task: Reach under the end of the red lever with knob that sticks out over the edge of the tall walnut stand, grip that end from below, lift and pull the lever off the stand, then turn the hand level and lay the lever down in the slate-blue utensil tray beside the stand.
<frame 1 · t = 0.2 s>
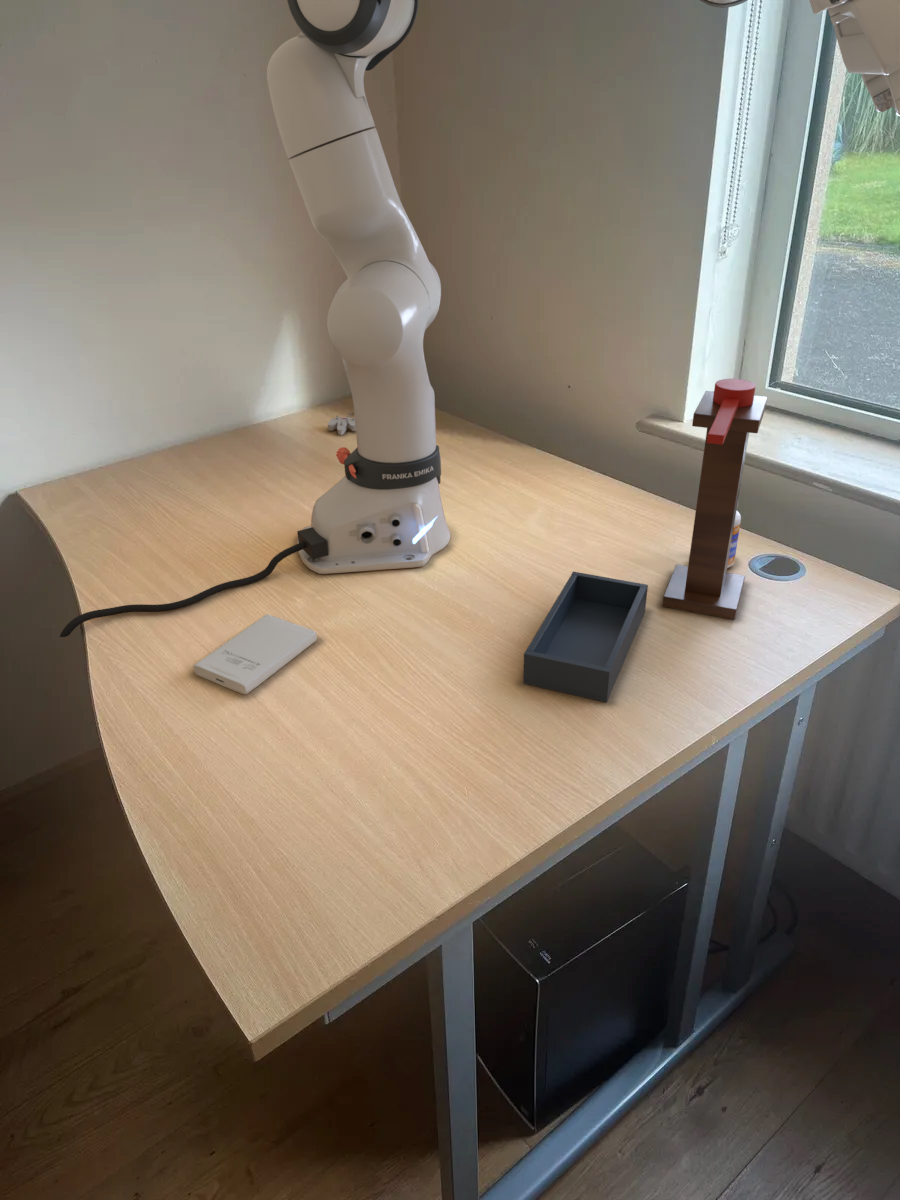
hand: (897, 111, 89), 54 cm above the table, tool tilted 30°, fingers open, 8 cm apart
game controller: (348, 425, 170), on the table
bin: (587, 645, 103), on the table
pill bottle: (713, 562, 120), on the table
stand: (703, 595, 112), on the table
red lever with knob: (732, 401, 99), point 26 cm above the table, touching stand
hard drive: (257, 659, 103), on the table
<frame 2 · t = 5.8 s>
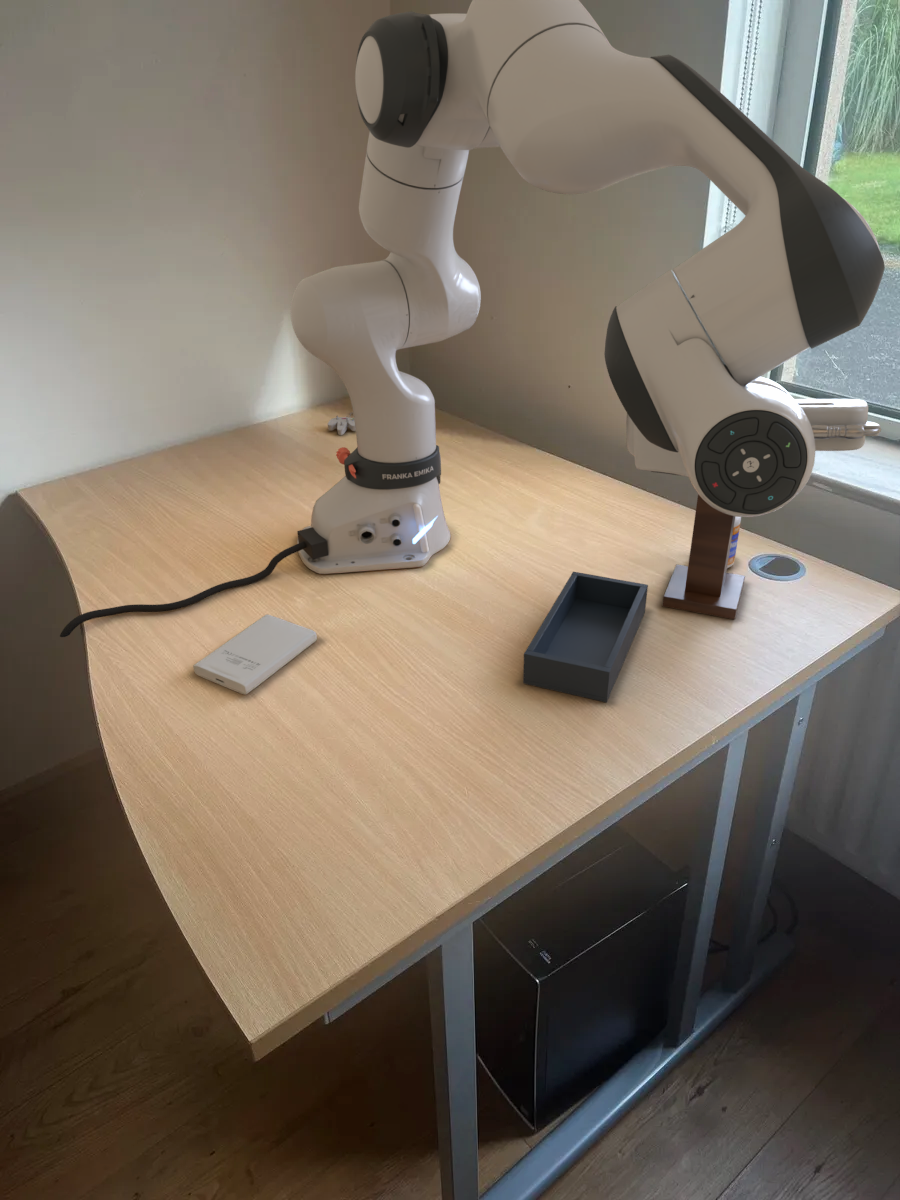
hand: (740, 413, 82), 30 cm above the table, tool horizontal, fingers open, 8 cm apart
nothing on the table moved.
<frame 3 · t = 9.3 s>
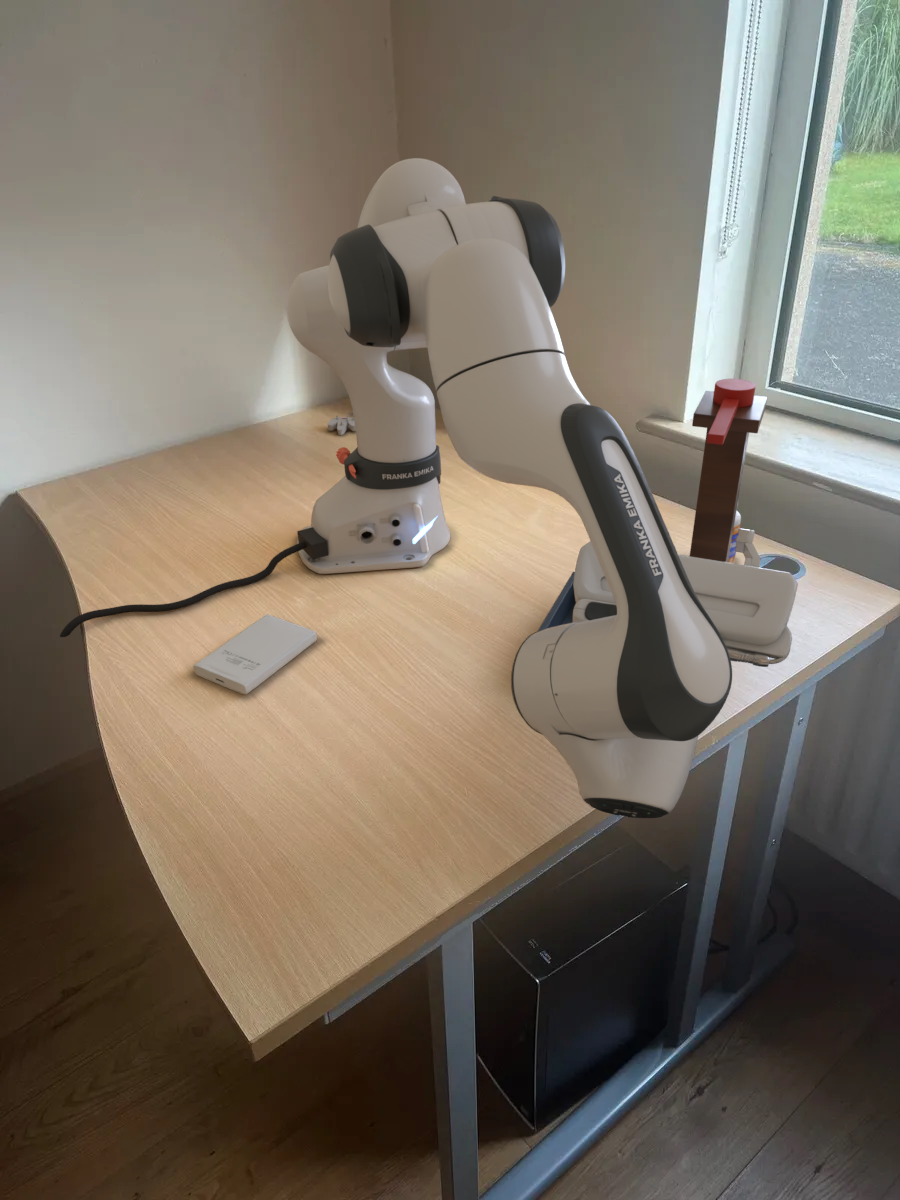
hand: (696, 525, 85), 20 cm above the table, tool pointing upward, fingers open, 8 cm apart
nothing on the table moved.
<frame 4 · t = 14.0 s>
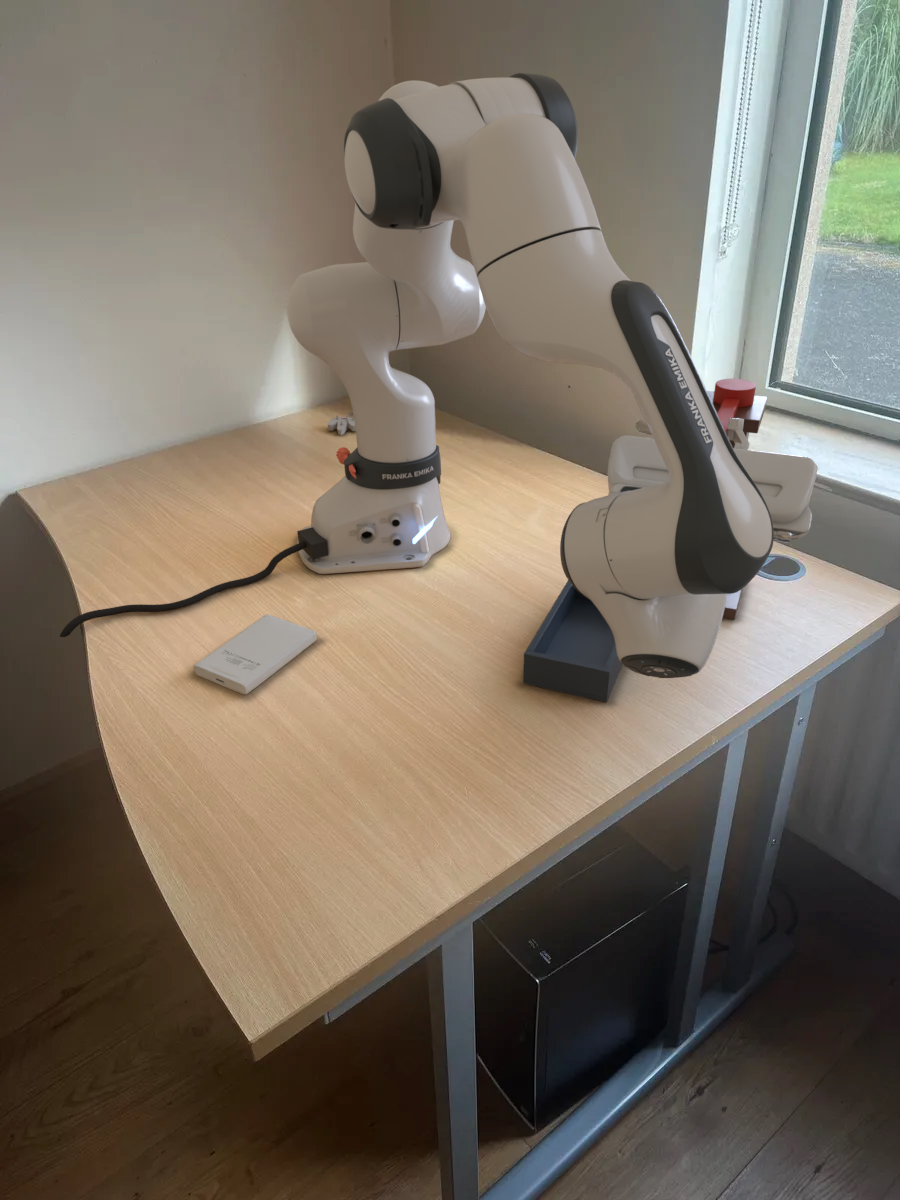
hand: (721, 420, 90), 27 cm above the table, tool pointing upward, fingers closed on red lever with knob, 2 cm apart
red lever with knob: (733, 401, 99), point 26 cm above the table, touching gripper, stand
everything else where it was.
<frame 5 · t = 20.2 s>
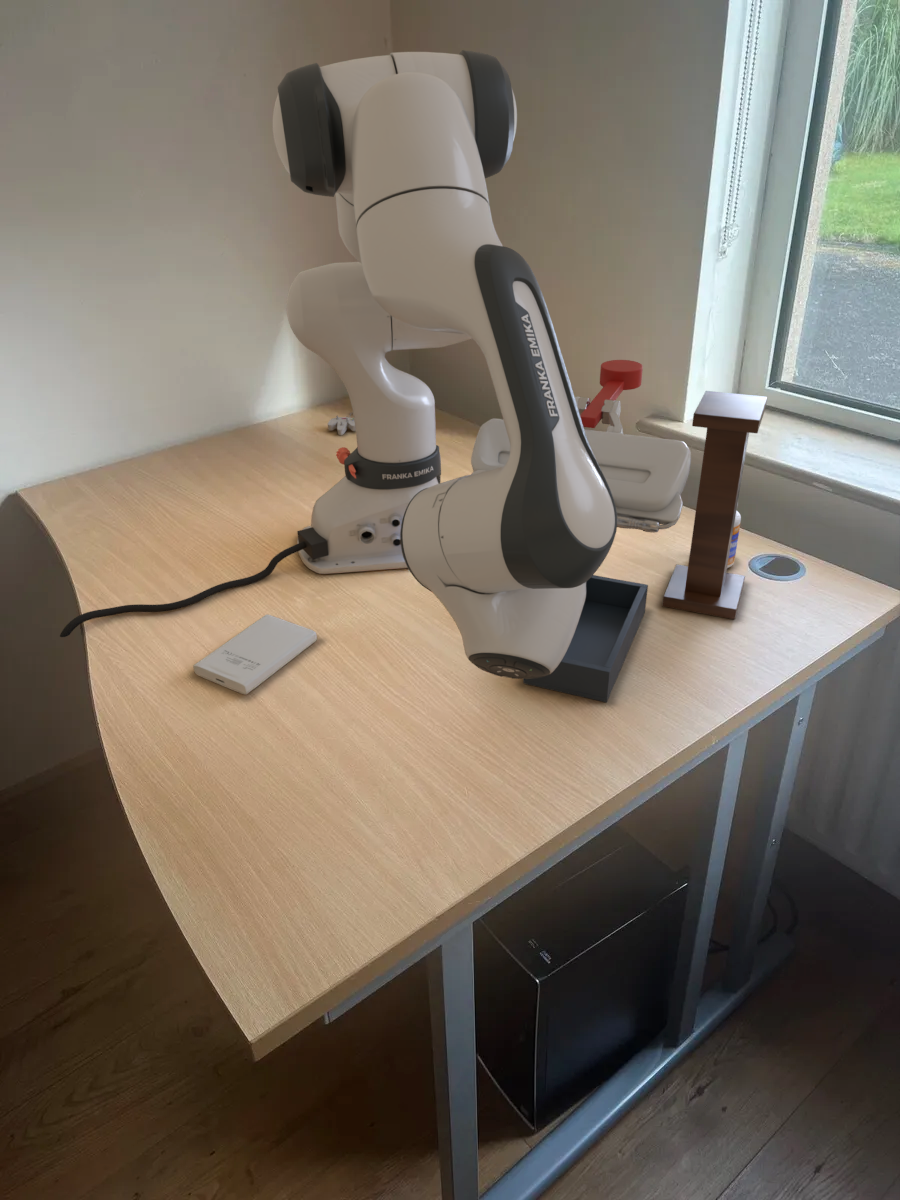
hand: (598, 402, 84), 31 cm above the table, tool pointing upward, fingers closed on red lever with knob
red lever with knob: (620, 383, 92), point 30 cm above the table, touching gripper
everything else where it was.
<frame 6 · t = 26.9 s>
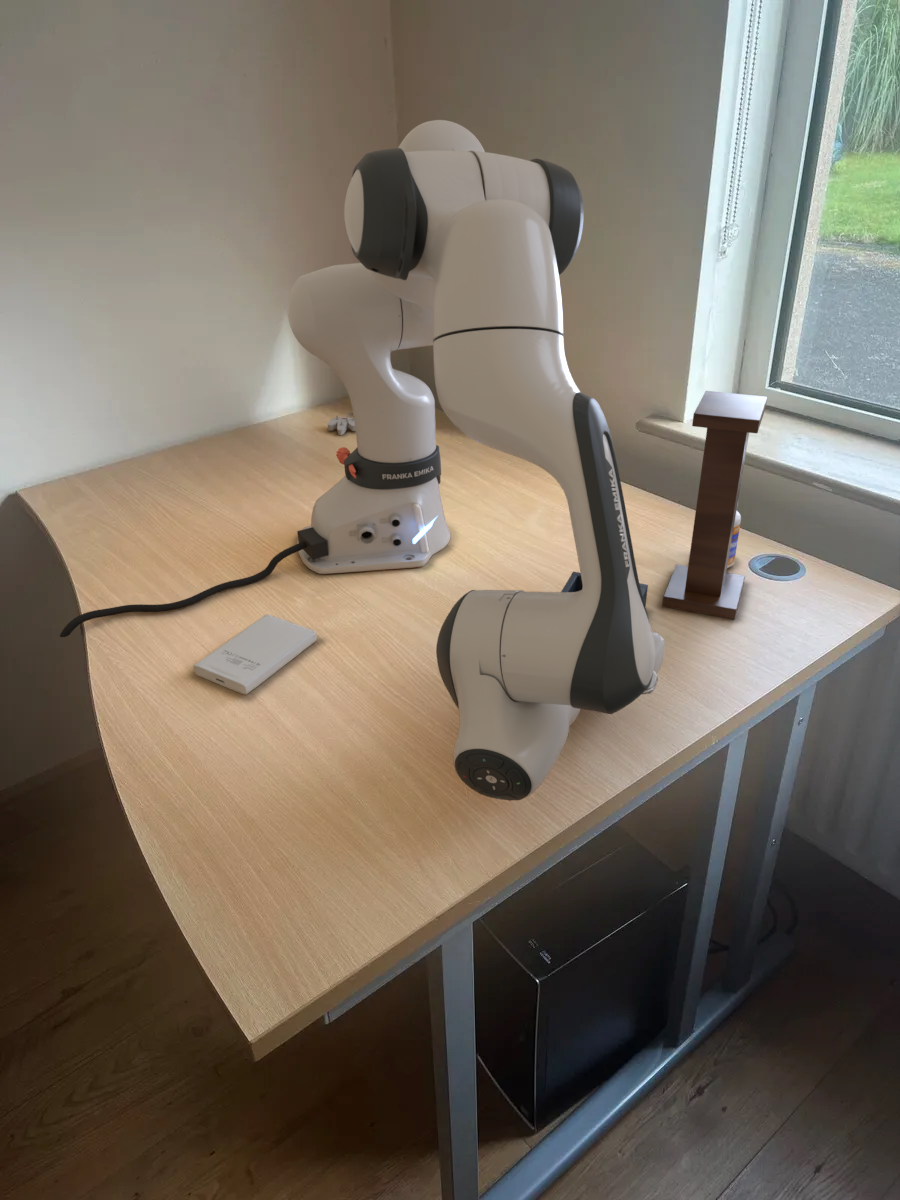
hand: (583, 607, 97), 7 cm above the table, tool horizontal, fingers open, 7 cm apart
red lever with knob: (598, 618, 106), point 1 cm above the table, tilted 7°, touching bin
everything else where it was.
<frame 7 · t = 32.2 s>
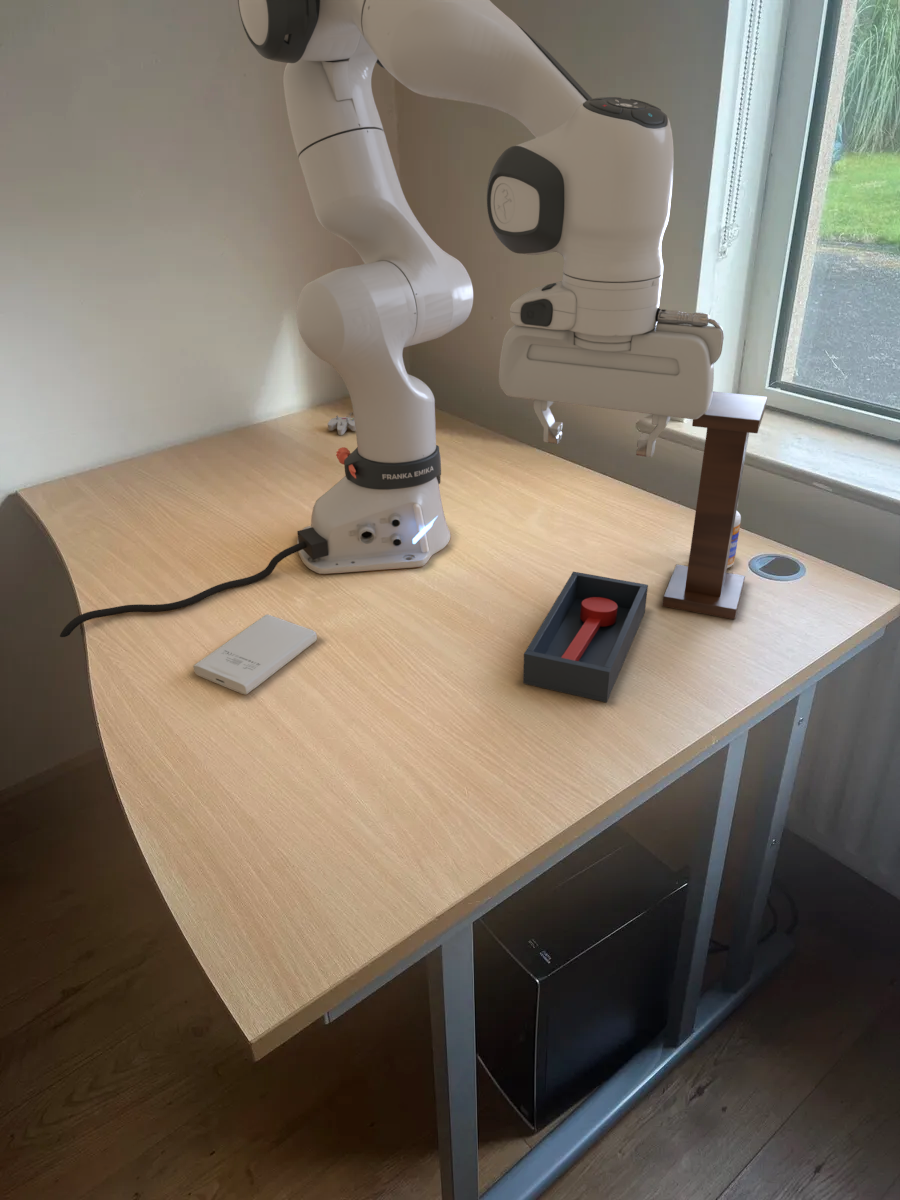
hand: (598, 447, 86), 27 cm above the table, tool pointing down, fingers open, 8 cm apart
nothing on the table moved.
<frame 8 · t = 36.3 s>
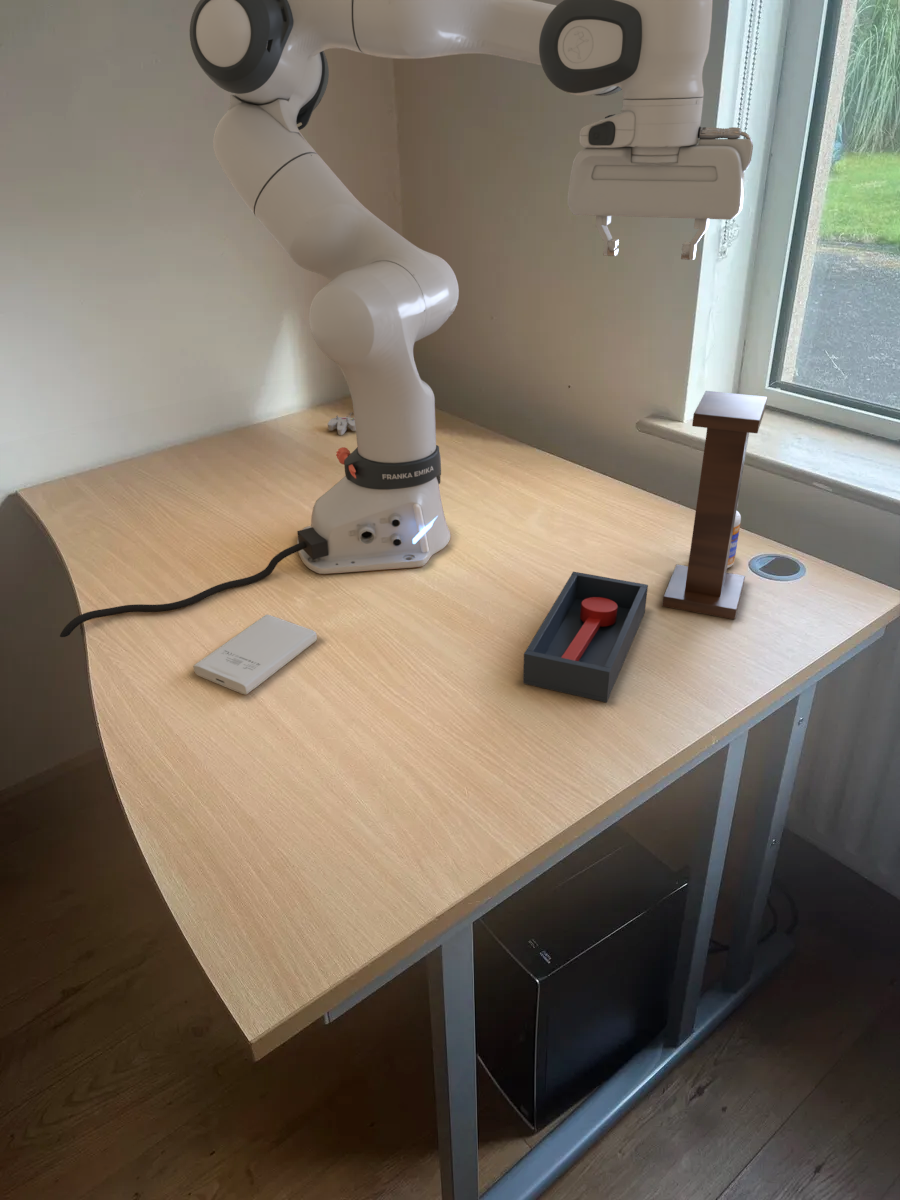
hand: (648, 257, 105), 39 cm above the table, tool pointing down, fingers open, 8 cm apart
nothing on the table moved.
at the end: red lever with knob inside the target area in the bin (4.9 cm from its centre), point 0.9 cm above the bin's base; the gripper is holding nothing; red lever with knob touching bin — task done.
